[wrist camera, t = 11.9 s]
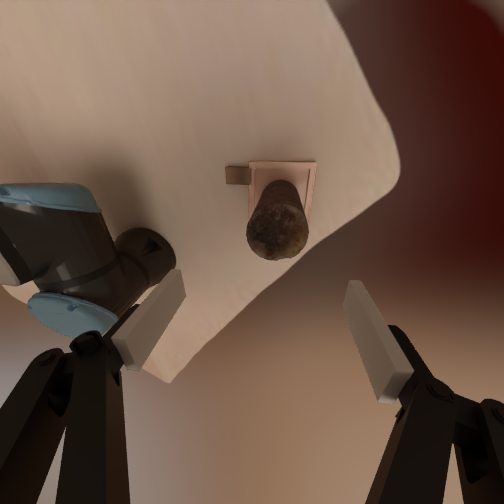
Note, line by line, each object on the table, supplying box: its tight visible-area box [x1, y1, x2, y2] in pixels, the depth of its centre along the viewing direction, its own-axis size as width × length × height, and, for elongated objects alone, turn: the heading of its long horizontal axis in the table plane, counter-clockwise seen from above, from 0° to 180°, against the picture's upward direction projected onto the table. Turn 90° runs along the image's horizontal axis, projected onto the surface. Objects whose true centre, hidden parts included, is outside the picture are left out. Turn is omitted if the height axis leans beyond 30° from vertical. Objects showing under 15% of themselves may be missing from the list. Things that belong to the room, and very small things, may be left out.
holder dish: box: [249, 161, 317, 223], centre depth 39 cm, size 12×13×2 cm
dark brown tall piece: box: [246, 180, 309, 261], centre depth 31 cm, size 8×7×20 cm
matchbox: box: [225, 166, 252, 185], centre depth 38 cm, size 5×3×2 cm, turn 91°
